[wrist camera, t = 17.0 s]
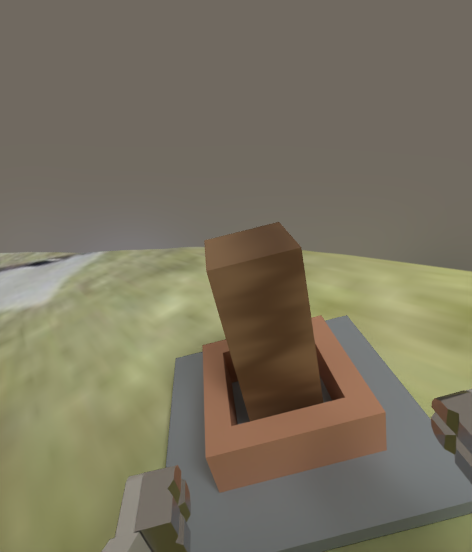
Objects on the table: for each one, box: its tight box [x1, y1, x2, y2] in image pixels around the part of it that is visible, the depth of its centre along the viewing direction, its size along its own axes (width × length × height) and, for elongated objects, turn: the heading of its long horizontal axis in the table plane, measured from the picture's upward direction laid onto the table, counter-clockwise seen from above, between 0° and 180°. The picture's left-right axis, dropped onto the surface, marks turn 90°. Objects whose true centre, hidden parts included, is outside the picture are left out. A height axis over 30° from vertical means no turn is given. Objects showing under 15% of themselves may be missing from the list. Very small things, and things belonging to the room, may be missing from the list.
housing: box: [166, 315, 472, 552], centre depth 22 cm, size 16×16×4 cm
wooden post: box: [205, 222, 323, 421], centre depth 20 cm, size 4×4×12 cm
